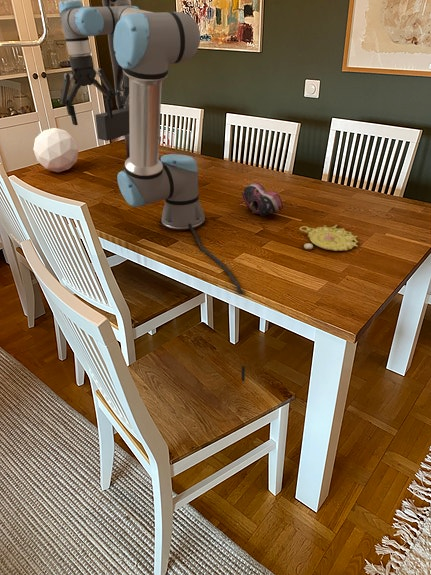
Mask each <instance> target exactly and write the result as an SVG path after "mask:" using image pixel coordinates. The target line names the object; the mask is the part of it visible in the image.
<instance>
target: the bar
mask: <svg viewBox="0 0 431 575" xmlns="http://www.w3.org/2000/svg"><path fill="white" fill-rule="evenodd" d="M112 115H113V118H109V117H108V116H107V111H106V112H105V111H104V112H100V113H97V114H95V124H96V134H97V139H98V140H102V141H106V142H107V141H111V140H115V139H118V138H121V137H124V136H125V135H128V134H130V126H129V107H126V108H122V109H118V108H117V109H113V110H112Z"/></svg>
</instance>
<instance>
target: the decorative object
mask: <svg viewBox="0 0 431 575" xmlns="http://www.w3.org/2000/svg"><path fill="white" fill-rule="evenodd" d="M303 228H304V229H305V230H304V229H303ZM299 231H300V232H303V233H305V234H307V237H308V238H309V240H310V241H311V243H304V244H303V248H304V249H305V250H313V249H314V245H315V246H316V247H318V248H321V249H324V250H328V251H335V252H341V251H348V250H352V249H354V247H356V248H358V247H359V245H358V244H357V243H359V240H357V238H359V237H358V235H353V234H352V231H347V230H346V229H345V228H344V227H342V228H338V224H335V225H333V226H331V227H328V226H327V225H326V224H325V225H323V226H322V227H321V226H317V227H316V228H314V227H309V226H308V225H302V226H300V227H299ZM313 244H314V245H313Z"/></svg>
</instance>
